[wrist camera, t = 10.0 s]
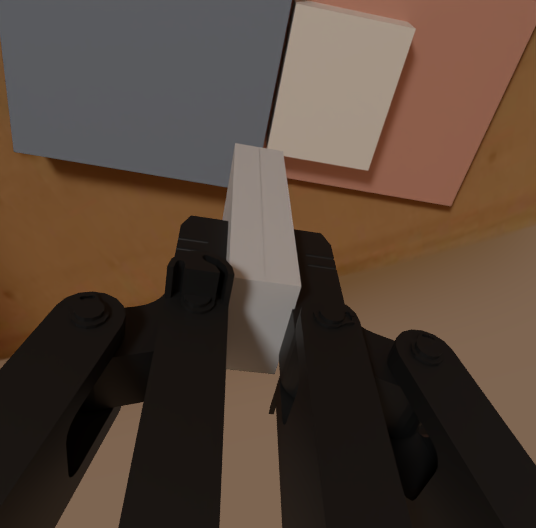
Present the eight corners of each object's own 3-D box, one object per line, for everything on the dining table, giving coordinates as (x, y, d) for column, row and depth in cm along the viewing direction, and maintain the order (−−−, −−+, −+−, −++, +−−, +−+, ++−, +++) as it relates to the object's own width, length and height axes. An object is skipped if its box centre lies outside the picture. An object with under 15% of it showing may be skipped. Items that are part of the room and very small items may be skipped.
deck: (30, 134, 35) (13, 151, 33) (6, -134, 26) (-20, -137, 24) (254, 172, 37) (254, 191, 35) (300, -65, 28) (304, -62, 26)
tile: (266, 141, 34) (266, 152, 33) (294, -3, 29) (296, 3, 28) (363, 158, 35) (368, 170, 34) (407, 21, 30) (415, 28, 28)
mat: (255, 166, 37) (255, 172, 36) (298, -55, 28) (299, -53, 28) (446, 199, 38) (450, 206, 38) (538, 0, 30) (545, 3, 29)
